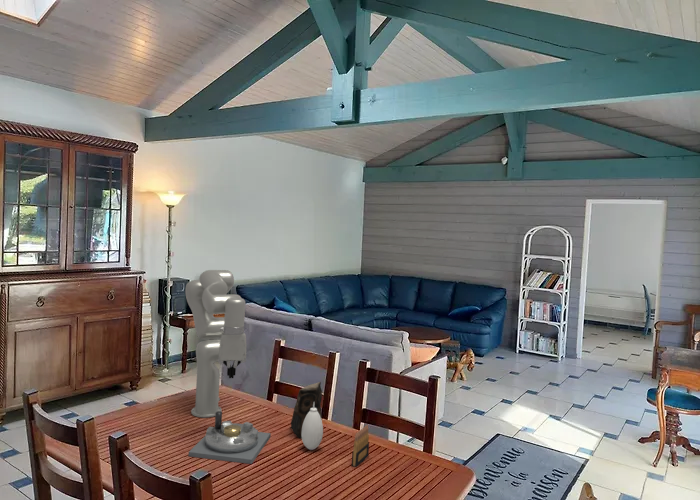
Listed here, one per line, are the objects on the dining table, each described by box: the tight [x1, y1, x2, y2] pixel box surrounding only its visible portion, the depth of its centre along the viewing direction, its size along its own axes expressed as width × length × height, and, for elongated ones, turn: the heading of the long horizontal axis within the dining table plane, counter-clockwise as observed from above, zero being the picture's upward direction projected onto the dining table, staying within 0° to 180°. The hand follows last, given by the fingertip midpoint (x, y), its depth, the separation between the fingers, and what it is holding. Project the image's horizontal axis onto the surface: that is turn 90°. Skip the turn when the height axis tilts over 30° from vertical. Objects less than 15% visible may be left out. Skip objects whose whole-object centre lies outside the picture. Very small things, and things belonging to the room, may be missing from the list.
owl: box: [290, 381, 323, 440], centre depth 201 cm, size 13×13×20 cm
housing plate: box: [187, 431, 272, 465], centre depth 186 cm, size 23×23×2 cm
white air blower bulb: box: [301, 403, 324, 451], centre depth 188 cm, size 8×8×18 cm
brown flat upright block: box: [351, 424, 370, 468], centre depth 180 cm, size 11×2×12 cm, turn 154°
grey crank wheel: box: [205, 411, 259, 453], centre depth 186 cm, size 19×19×9 cm
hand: (231, 377), depth 193 cm, fingers closed
